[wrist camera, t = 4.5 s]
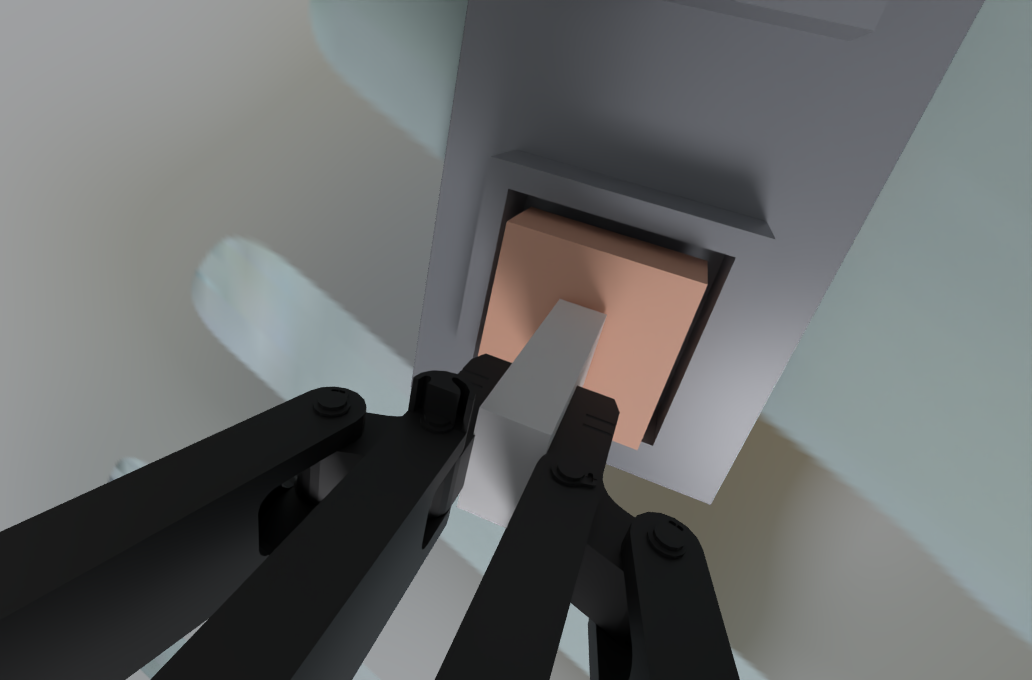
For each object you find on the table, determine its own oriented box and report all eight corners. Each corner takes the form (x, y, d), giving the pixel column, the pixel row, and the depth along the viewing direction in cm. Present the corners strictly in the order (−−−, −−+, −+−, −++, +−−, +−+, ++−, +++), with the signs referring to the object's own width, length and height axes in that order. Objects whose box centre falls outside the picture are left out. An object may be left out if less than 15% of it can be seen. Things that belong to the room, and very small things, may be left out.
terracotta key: (531, 206, 18) (506, 221, 16) (707, 261, 17) (707, 284, 14) (496, 356, 21) (471, 386, 18) (645, 411, 19) (637, 450, 17)
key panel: (586, -571, 13) (536, -855, 9) (1254, -562, 10) (1576, -953, 7) (430, 368, 26) (382, 414, 22) (710, 475, 24) (711, 549, 20)
